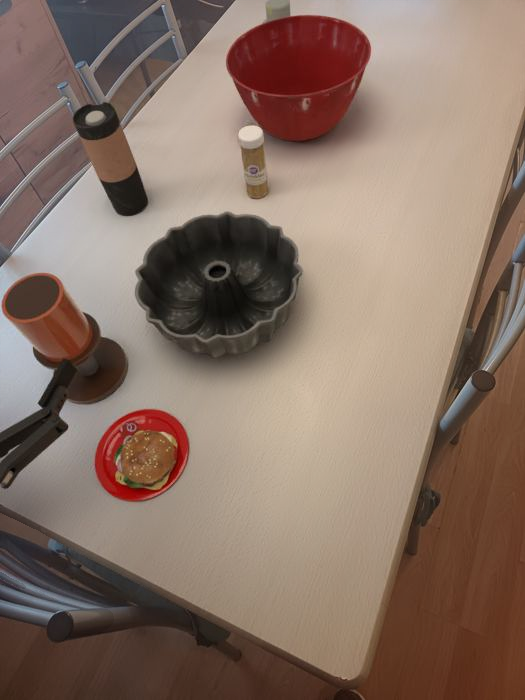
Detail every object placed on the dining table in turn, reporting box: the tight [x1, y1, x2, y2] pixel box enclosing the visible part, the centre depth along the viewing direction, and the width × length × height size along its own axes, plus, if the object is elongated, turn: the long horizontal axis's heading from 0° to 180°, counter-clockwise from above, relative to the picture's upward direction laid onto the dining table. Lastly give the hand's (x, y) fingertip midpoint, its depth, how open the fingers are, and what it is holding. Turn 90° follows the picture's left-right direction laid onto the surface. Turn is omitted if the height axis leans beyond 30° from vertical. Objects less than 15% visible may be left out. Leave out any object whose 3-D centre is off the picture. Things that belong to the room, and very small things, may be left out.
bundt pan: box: [134, 210, 303, 360], centre depth 82 cm, size 26×26×10 cm
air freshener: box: [261, 0, 292, 24], centre depth 124 cm, size 11×8×10 cm
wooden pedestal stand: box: [32, 311, 129, 405], centre depth 78 cm, size 12×12×10 cm
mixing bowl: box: [225, 14, 372, 142], centre depth 104 cm, size 28×28×16 cm
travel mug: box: [72, 101, 149, 217], centre depth 94 cm, size 8×8×20 cm
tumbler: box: [1, 272, 93, 362], centre depth 69 cm, size 8×8×10 cm
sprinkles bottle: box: [237, 124, 270, 199], centre depth 95 cm, size 5×5×13 cm
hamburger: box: [94, 408, 190, 502], centre depth 71 cm, size 14×14×6 cm
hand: (25, 353), depth 66 cm, fingers open, 13 cm apart
